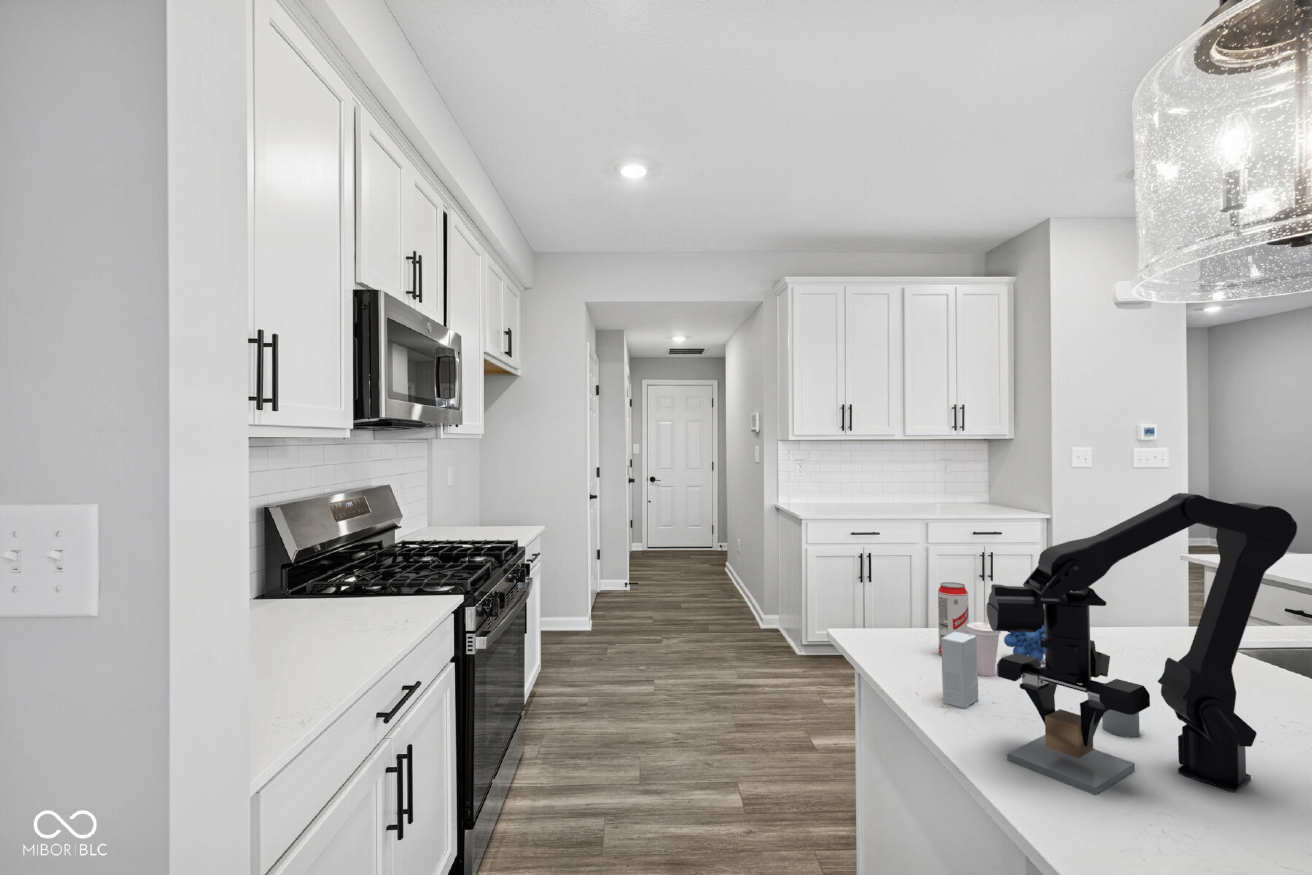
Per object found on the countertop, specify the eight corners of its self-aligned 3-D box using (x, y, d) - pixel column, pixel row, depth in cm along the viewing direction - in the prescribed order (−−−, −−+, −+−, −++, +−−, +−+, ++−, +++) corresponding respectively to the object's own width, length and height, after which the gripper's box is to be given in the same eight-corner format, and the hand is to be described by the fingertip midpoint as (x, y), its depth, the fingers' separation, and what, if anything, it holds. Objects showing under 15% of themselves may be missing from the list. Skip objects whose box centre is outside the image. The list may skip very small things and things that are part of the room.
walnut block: (1093, 749, 96) (1092, 718, 96) (1078, 758, 93) (1078, 726, 93) (1060, 738, 99) (1059, 708, 99) (1045, 746, 97) (1045, 715, 97)
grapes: (1068, 662, 141) (1067, 606, 141) (1064, 670, 136) (1062, 613, 136) (1008, 652, 149) (1007, 599, 149) (1001, 659, 143) (1000, 605, 143)
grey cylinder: (1145, 732, 107) (1144, 689, 107) (1131, 740, 104) (1130, 696, 104) (1110, 722, 111) (1109, 680, 111) (1096, 729, 108) (1095, 686, 108)
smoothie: (1006, 679, 131) (1004, 609, 132) (971, 677, 133) (970, 608, 133) (996, 668, 138) (995, 602, 138) (963, 666, 139) (962, 601, 139)
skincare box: (955, 693, 124) (954, 630, 124) (979, 700, 121) (977, 635, 121) (941, 702, 120) (940, 637, 120) (965, 709, 117) (963, 642, 117)
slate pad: (1134, 769, 94) (1134, 762, 94) (1095, 794, 88) (1095, 787, 88) (1048, 739, 105) (1048, 733, 105) (1007, 759, 98) (1007, 752, 98)
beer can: (932, 653, 148) (931, 583, 148) (952, 650, 151) (951, 580, 151) (955, 662, 142) (954, 588, 142) (975, 657, 145) (974, 585, 145)
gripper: (1165, 639, 93) (1168, 749, 93) (1031, 612, 109) (1033, 706, 109) (1130, 653, 87) (1133, 771, 87) (993, 622, 103) (996, 722, 102)
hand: (1069, 739), depth 96 cm, fingers closed on walnut block, 4 cm apart
